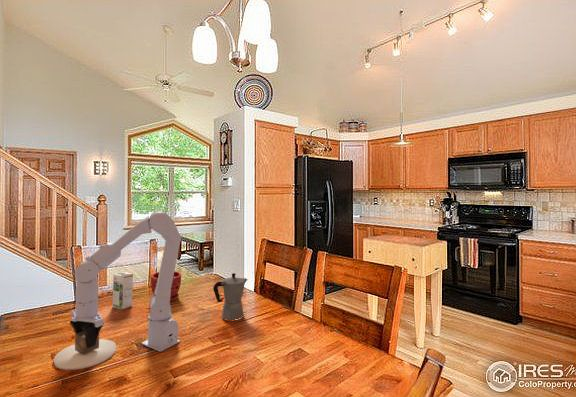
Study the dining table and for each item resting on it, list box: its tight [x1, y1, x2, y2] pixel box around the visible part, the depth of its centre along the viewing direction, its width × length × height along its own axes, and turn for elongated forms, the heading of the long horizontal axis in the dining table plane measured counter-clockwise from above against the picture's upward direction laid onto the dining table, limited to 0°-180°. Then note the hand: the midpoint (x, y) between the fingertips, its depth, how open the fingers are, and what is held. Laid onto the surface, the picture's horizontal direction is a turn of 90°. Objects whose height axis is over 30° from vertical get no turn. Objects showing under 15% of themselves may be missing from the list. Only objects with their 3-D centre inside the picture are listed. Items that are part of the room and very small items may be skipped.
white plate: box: [53, 338, 117, 371], centre depth 95 cm, size 16×16×1 cm
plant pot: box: [150, 270, 182, 303], centre depth 144 cm, size 13×13×12 cm
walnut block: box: [74, 331, 100, 354], centre depth 95 cm, size 5×5×5 cm
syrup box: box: [112, 271, 134, 311], centre depth 134 cm, size 6×6×14 cm
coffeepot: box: [212, 272, 249, 320], centre depth 126 cm, size 15×9×18 cm, turn 129°
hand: (86, 344), depth 95 cm, fingers closed on walnut block, 5 cm apart
